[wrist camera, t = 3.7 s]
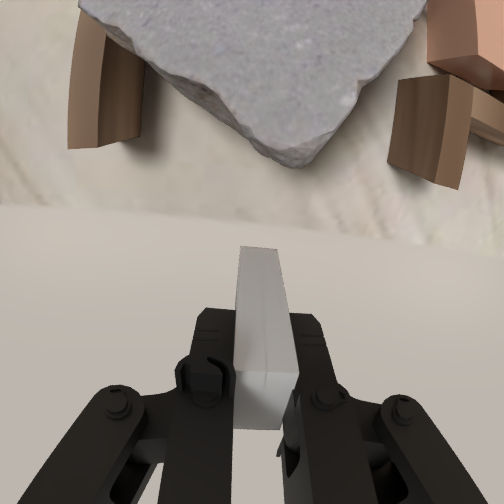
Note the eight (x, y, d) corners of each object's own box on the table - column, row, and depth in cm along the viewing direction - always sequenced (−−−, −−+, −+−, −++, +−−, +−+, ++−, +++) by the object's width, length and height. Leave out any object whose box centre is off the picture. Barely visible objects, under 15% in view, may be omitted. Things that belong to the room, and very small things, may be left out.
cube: (425, 62, 10) (478, 54, 6) (425, -3, 8) (470, -24, 5) (481, 89, 10) (533, 93, 6) (481, 28, 8) (529, 21, 5)
